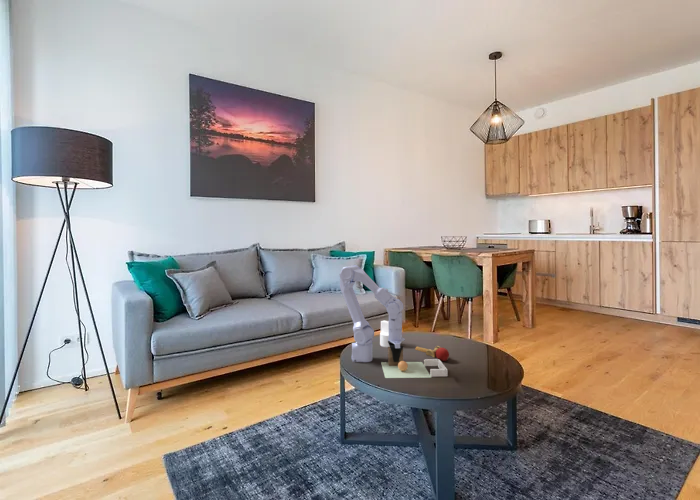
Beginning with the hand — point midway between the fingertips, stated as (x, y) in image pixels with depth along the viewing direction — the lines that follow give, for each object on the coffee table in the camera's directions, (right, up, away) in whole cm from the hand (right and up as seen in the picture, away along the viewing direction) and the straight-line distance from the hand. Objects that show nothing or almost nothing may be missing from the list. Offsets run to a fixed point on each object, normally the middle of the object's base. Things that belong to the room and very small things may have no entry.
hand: (395, 359), depth 145 cm
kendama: (+19, -3, +13) cm, 23 cm away
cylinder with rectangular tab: (+1, -3, +33) cm, 33 cm away
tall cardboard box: (0, -2, 0) cm, 2 cm away
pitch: (+6, -4, -6) cm, 9 cm away
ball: (+2, 0, -7) cm, 8 cm away
